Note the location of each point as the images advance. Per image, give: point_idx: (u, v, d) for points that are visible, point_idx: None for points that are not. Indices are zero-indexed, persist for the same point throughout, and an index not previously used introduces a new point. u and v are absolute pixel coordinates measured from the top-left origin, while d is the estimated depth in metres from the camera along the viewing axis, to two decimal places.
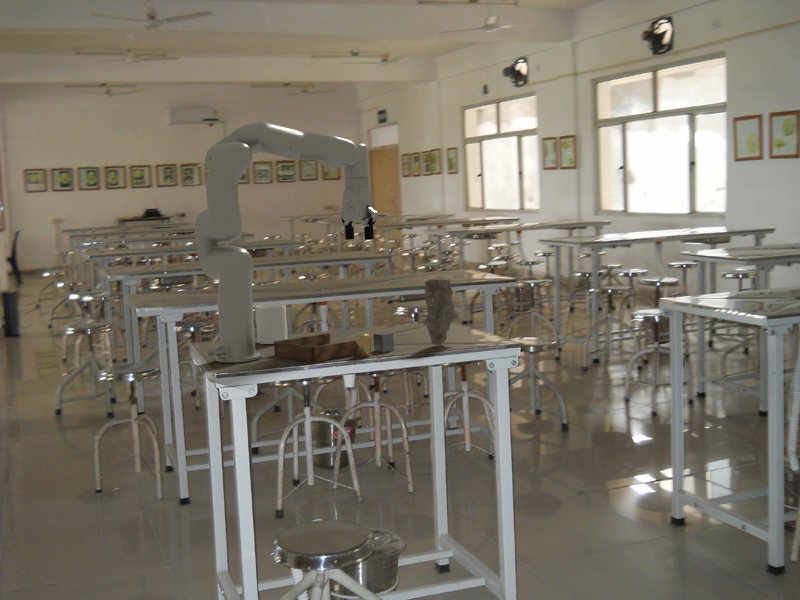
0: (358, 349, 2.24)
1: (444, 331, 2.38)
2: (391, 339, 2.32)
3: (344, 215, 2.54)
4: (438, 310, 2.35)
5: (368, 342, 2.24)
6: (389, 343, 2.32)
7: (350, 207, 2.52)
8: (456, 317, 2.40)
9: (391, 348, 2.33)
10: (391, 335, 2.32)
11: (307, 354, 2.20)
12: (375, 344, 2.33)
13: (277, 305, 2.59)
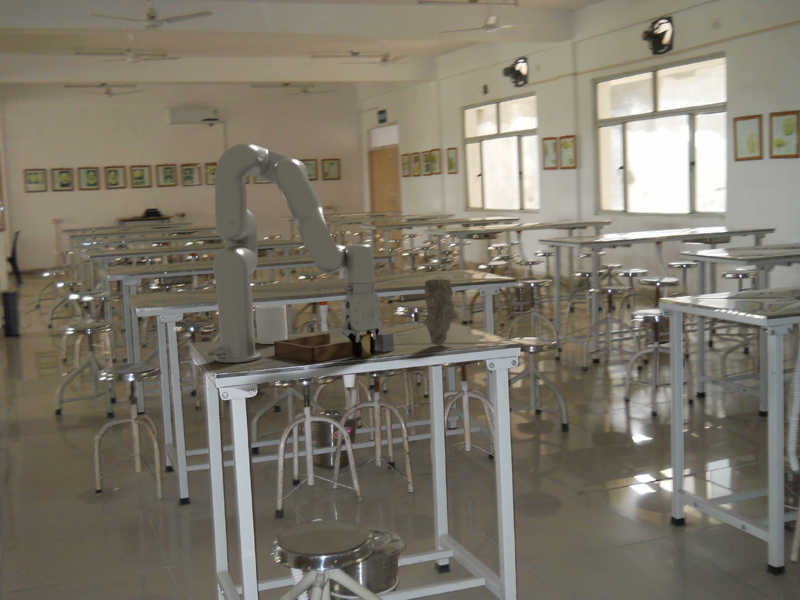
0: None
1: (444, 331, 2.38)
2: (391, 339, 2.32)
3: (358, 325, 2.21)
4: (438, 310, 2.35)
5: (368, 342, 2.24)
6: (389, 343, 2.32)
7: (368, 315, 2.23)
8: (456, 317, 2.40)
9: (391, 348, 2.33)
10: (391, 335, 2.32)
11: (307, 354, 2.20)
12: (375, 344, 2.33)
13: (277, 305, 2.59)
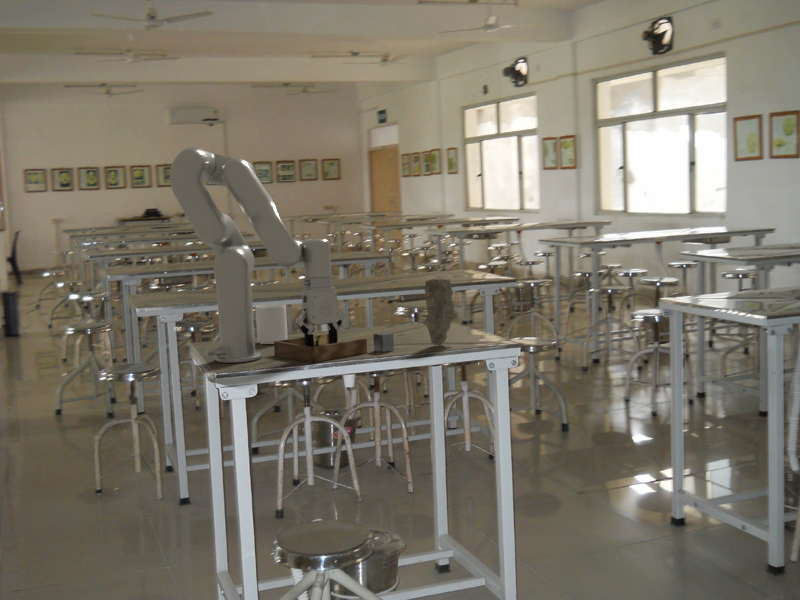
0: None
1: (444, 331, 2.38)
2: (391, 339, 2.32)
3: (315, 319, 2.23)
4: (438, 310, 2.35)
5: (325, 342, 2.27)
6: (389, 343, 2.32)
7: (325, 309, 2.25)
8: (456, 317, 2.40)
9: (391, 348, 2.33)
10: (391, 335, 2.32)
11: (307, 354, 2.20)
12: (375, 344, 2.33)
13: (277, 305, 2.59)
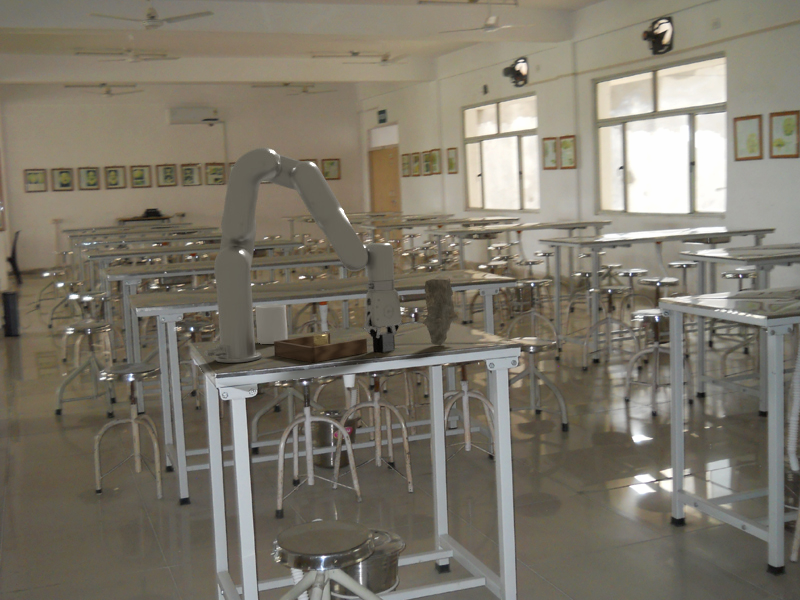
0: None
1: (444, 331, 2.38)
2: (391, 339, 2.32)
3: (379, 321, 2.28)
4: (438, 310, 2.35)
5: (325, 342, 2.27)
6: (389, 343, 2.32)
7: (388, 311, 2.30)
8: (456, 317, 2.40)
9: (391, 348, 2.33)
10: (391, 335, 2.32)
11: (307, 354, 2.20)
12: None
13: (277, 305, 2.59)
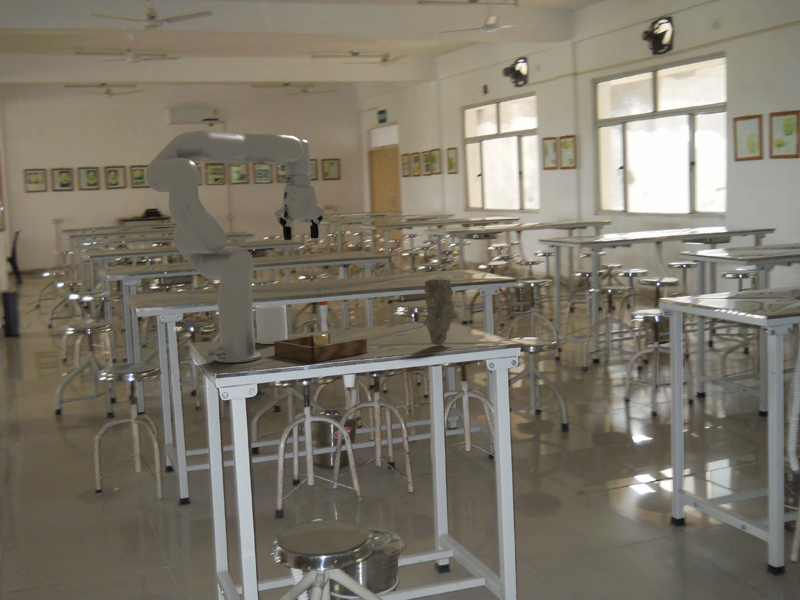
0: None
1: (444, 331, 2.38)
2: (328, 340, 2.35)
3: (295, 213, 2.40)
4: (438, 310, 2.35)
5: (325, 342, 2.27)
6: None
7: (304, 205, 2.42)
8: (456, 317, 2.40)
9: None
10: (328, 336, 2.35)
11: (307, 354, 2.20)
12: (312, 345, 2.35)
13: (277, 305, 2.59)
